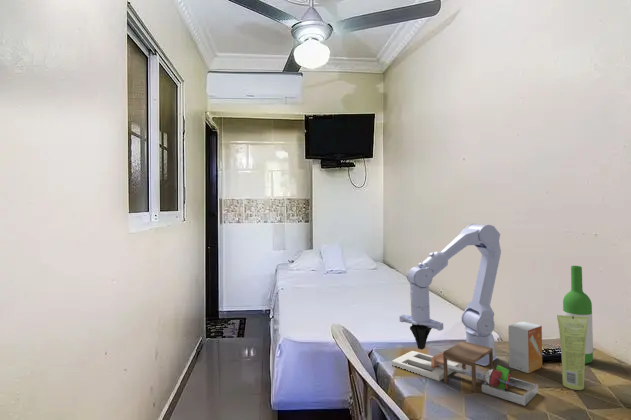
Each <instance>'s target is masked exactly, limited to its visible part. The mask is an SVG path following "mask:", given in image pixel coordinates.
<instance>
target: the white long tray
mask: <svg viewBox="0 0 631 420" xmlns="http://www.w3.org/2000/svg"><path fill="white" fill-rule="evenodd" d="M432 356H433V357H432V358H431V368H436V367H441V368H444V362H443V352H439V353H436V354H435V355H432ZM447 370H451V371H454V372H453V373H458V374H462V375H464V376H469V377H471V378H472V370H468V369H467V368H466V369H462V367H460V366H459V367H455V366H452V365H448V364H447ZM478 379H479V380H482V381H484V382H483V383H481V392H482V393H484V394H487V395H489V396H492V397H496V398H500V399H503V400H506V401H510V402H512V403H515V404H518V405H522V406H526V405H527V404H528V403H529V402H530V401H532V399H533V398H535V396H536V395H537V394H538V393H539V384H537V383H533V382H530V381H526V380H522V379H519V378H514V377H513V376H511V377H510V381H509V383H511V384H513V385H510V384H509V385H508V386H512V387H514V385H515V387H516V388H519V389H522V390H525V391H526V392H525V393H524V394H523V395H521V394H518V393H514V392H512V391H509V390H507V391H506V389H505V390H502V389H499V388H495V387H492V385H491V386H490V385H489V384H488V382H487V381H486V380H485V374H483V373H479V372H476V380H478ZM490 379H491V377H490V378H489V383H490ZM514 382H515V383H514ZM515 387H514V388H515Z"/></svg>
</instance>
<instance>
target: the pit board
mask: <svg viewBox="0 0 631 420" xmlns="http://www.w3.org/2000/svg"><path fill="white" fill-rule="evenodd" d="M433 356H434V355H429V354H426V353H422V352H419V351H416V350H411V351H409V352H407V353H404V354H403V355H401V356H399V357H397V358H395V359H393V360H391V366H392V365H393V367H395V366H397V367H396V368H398V367H400V368H399V369H401V368H402V369H401V370H404V369H406V370H405V371H407V370H408V371H407V372H410V371H411V373H413V372H414V374H416V373H417V375H419V374H420V376H423V377H425V378H429V379H432V380H435V381H438V382H440V381H442V380H444V368H441V367H436V368H431V358H432V357H433ZM407 363H408V364H407ZM447 364H448V365H452V366H455V367H459V368H460V366H459V365H460V363H459V362H455V361H452V360H448V359H447ZM447 372H448V376H449V375H451V374H452V373H455V372H454V371H451V370H447Z"/></svg>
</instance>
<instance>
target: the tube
mask: <svg viewBox="0 0 631 420" xmlns="http://www.w3.org/2000/svg"><path fill="white" fill-rule="evenodd" d="M556 318H557V323H558V329H559V330H558V331H559V340H560V352H561V370H562V372H561V373H562V385H563V386H564V387H565V388H568V389H570V390H573V391H574V390H575V391H582V390H584V389H585V369H586V368H585V366H586V364H585V348H586V334H587V325H588V317H582V316H565V315H563V314H557V316H556Z"/></svg>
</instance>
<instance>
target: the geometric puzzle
mask: <svg viewBox="0 0 631 420" xmlns="http://www.w3.org/2000/svg"><path fill="white" fill-rule="evenodd" d="M495 368H496V369H494V368H493V369H490V370H489V369H486V371H485V372H484V375H485V380H486V381H487V382H488V384H489V385H490V386H491V385H492V387H495V388H499V389H502V390H505V391H508V392H511V387H509V386H511V385H513V384H511V383H509V381H510V377H512V372H511V370H510V369H509V368H507V367H504V366H502V365H500V364H496V365H495ZM491 373H492V375H491ZM490 376H491V379H490V383H489V378H490ZM486 381H485V382H486ZM514 383H515V382H514ZM509 384H510V385H509ZM513 388H515V385H514V386H513Z"/></svg>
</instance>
